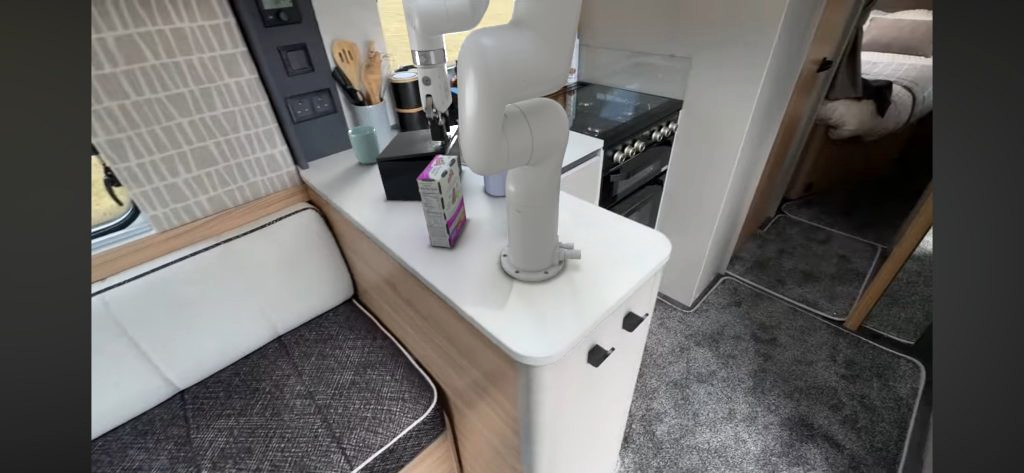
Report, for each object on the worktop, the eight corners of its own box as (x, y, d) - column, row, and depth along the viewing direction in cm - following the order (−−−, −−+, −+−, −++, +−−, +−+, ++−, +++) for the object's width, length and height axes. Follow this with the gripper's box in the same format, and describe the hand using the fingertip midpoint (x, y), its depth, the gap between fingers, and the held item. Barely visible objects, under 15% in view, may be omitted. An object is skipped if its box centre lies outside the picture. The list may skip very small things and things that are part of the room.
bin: (462, 171, 108) (457, 135, 102) (450, 201, 95) (444, 162, 89) (406, 171, 110) (398, 135, 103) (387, 200, 97) (376, 161, 90)
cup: (357, 158, 118) (348, 127, 112) (382, 154, 120) (374, 123, 114) (356, 168, 112) (347, 136, 106) (383, 164, 114) (375, 132, 108)
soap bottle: (479, 196, 96) (470, 102, 82) (489, 179, 104) (483, 90, 90) (512, 199, 95) (508, 104, 81) (520, 182, 102) (518, 92, 88)
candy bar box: (447, 218, 89) (436, 153, 79) (467, 220, 88) (458, 154, 78) (429, 246, 80) (415, 178, 70) (451, 249, 79) (440, 179, 69)
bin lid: (459, 128, 101) (454, 108, 98) (445, 153, 87) (439, 131, 84) (398, 135, 103) (392, 116, 100) (376, 161, 90) (368, 140, 87)
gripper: (436, 65, 76) (448, 149, 86) (454, 49, 90) (463, 124, 100) (400, 66, 77) (417, 149, 87) (423, 50, 90) (435, 124, 101)
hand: (441, 135), depth 94 cm, fingers closed on bin lid, 5 cm apart
